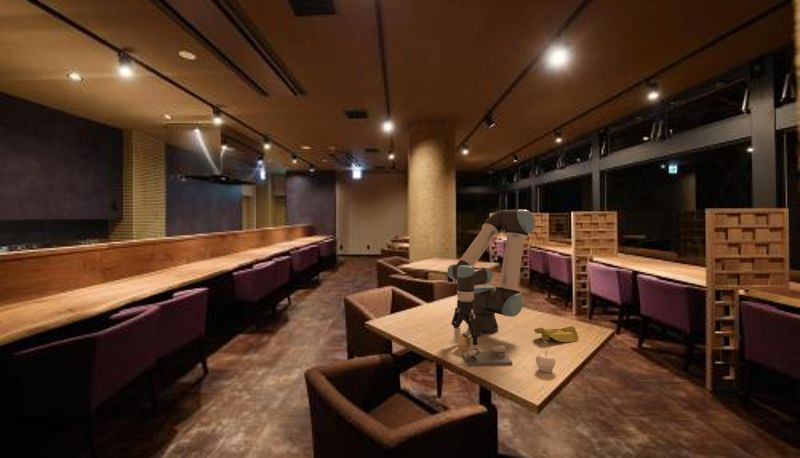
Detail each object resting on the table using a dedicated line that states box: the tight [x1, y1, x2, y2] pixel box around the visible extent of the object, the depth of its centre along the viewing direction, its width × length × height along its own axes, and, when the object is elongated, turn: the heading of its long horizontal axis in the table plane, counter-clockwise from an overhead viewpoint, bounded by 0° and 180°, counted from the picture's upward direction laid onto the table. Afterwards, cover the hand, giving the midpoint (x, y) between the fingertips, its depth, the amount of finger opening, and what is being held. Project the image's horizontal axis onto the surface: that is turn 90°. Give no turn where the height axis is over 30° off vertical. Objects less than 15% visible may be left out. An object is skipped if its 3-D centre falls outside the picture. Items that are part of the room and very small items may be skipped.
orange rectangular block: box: [457, 332, 472, 352], centre depth 164 cm, size 5×5×7 cm
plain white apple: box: [535, 349, 556, 373], centre depth 142 cm, size 7×7×8 cm
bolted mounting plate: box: [461, 345, 513, 367], centre depth 153 cm, size 18×12×5 cm, turn 93°
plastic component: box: [533, 325, 579, 343], centre depth 177 cm, size 20×7×10 cm
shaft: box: [466, 347, 481, 362], centre depth 150 cm, size 5×4×4 cm
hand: (465, 346), depth 164 cm, fingers open, 13 cm apart
